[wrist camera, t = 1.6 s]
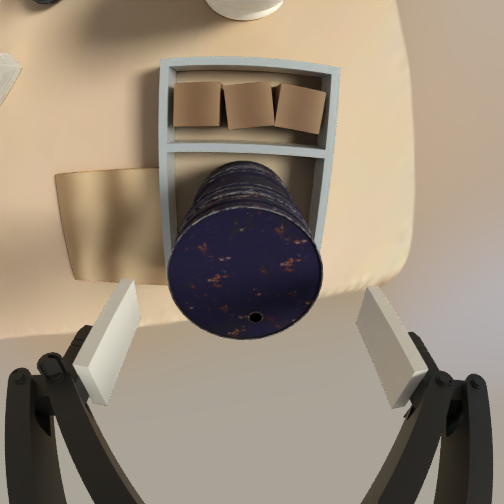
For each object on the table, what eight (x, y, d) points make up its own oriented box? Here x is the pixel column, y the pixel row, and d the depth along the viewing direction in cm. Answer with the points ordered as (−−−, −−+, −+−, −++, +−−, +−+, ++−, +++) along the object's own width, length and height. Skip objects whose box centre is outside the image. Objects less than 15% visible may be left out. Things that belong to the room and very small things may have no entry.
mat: (76, 277, 35) (75, 279, 34) (57, 173, 28) (55, 175, 28) (174, 282, 35) (173, 285, 35) (167, 167, 29) (166, 168, 29)
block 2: (230, 127, 28) (228, 129, 24) (225, 89, 26) (223, 85, 22) (270, 123, 28) (274, 125, 24) (266, 85, 26) (270, 81, 22)
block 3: (270, 124, 28) (274, 126, 24) (276, 86, 26) (281, 82, 22) (308, 131, 28) (318, 134, 25) (315, 94, 26) (326, 92, 23)
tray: (172, 261, 34) (166, 276, 31) (169, 64, 24) (160, 59, 21) (308, 265, 35) (315, 280, 32) (330, 71, 25) (340, 67, 22)
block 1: (182, 124, 27) (173, 126, 24) (183, 86, 26) (174, 83, 22) (221, 124, 28) (218, 126, 24) (223, 85, 26) (220, 82, 22)
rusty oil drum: (185, 172, 30) (141, 227, 16) (279, 149, 29) (312, 185, 16) (211, 256, 34) (196, 351, 21) (296, 236, 33) (330, 324, 20)
